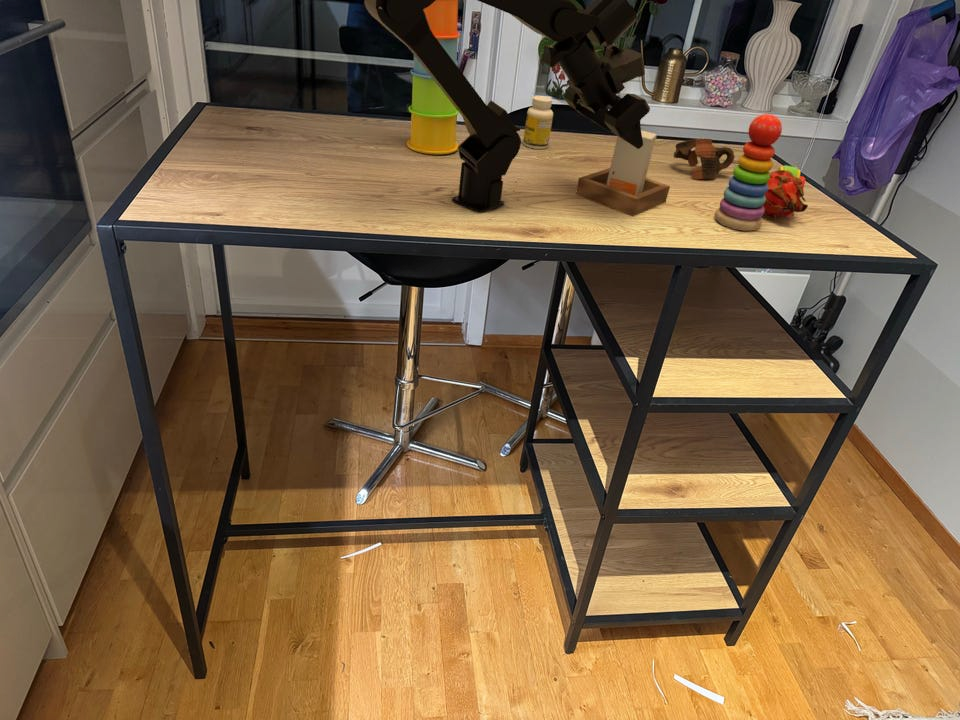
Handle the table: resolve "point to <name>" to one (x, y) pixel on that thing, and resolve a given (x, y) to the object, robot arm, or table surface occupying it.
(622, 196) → the square wooden frame
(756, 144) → the stacking toy
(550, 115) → the supplement bottle
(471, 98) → the robot arm
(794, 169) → the toy measuring tape
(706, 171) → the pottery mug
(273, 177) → the table surface
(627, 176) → the skincare box
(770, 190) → the dragon fruit
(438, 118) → the stacking cups
